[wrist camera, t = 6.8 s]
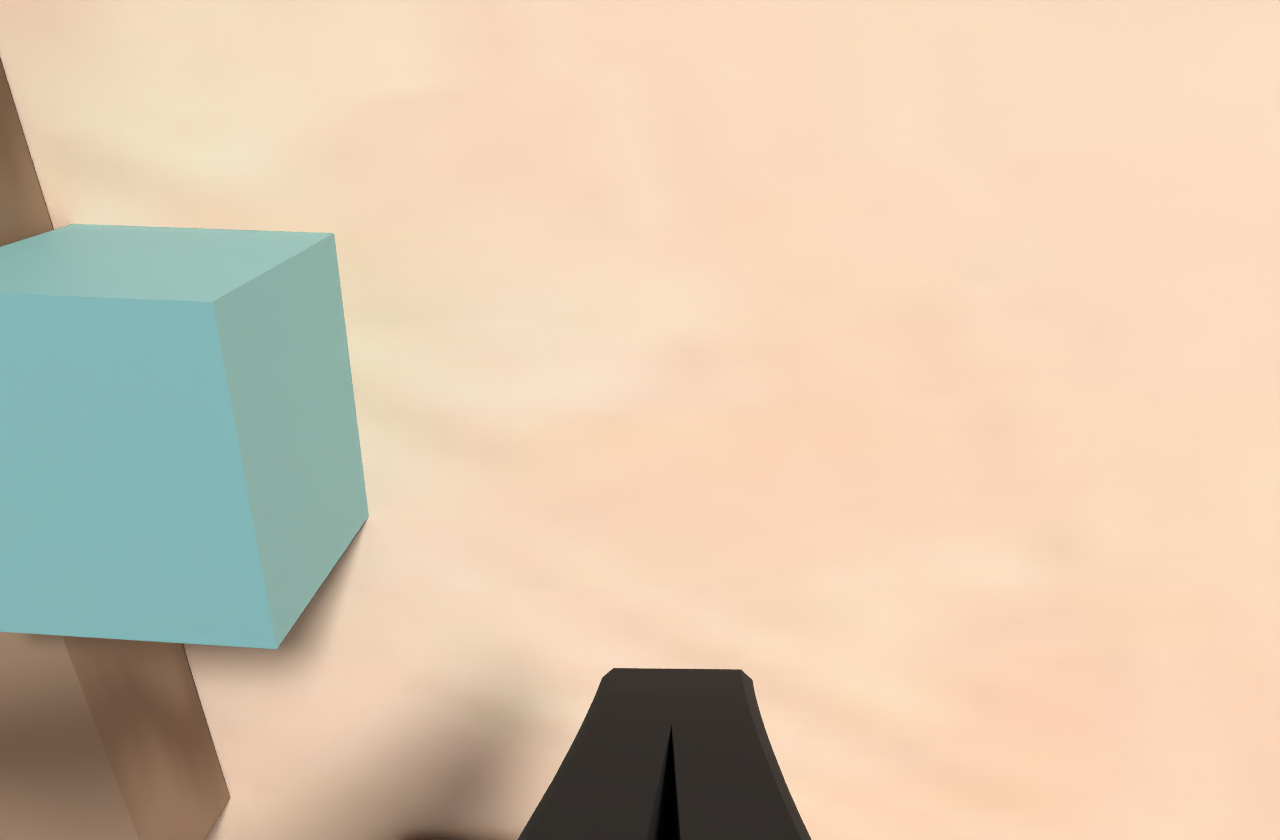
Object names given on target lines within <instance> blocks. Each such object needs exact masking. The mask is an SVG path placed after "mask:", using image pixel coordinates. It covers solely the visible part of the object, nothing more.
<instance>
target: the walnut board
mask: <svg viewBox="0 0 1280 840" xmlns="http://www.w3.org/2000/svg"><path fill="white" fill-rule="evenodd" d="M52 230H53V227H52V224H51V221H50V218H49V214H48V211H47V208H46V205H45V202H44V198H43V195H42V192H41V189H40V186H39V182H38V179H37V176H36V173H35V169H34V166H33V163H32V160H31V157H30V153H29V150H28V147H27V144H26V140H25V137H24V134H23V131H22V128H21V124H20V121H19V118H18V115H17V112H16V108H15V105H14V102H13V99H12V95H11V92H10V89H9V86H8V83H7V79H6V76H5V73H4V70H3V67H2V63H1V60H0V247H2V246H5V245H8V244H11V243H15V242H18V241H21V240H24V239H27V238H30V237H33V236H37V235H40V234H43V233H46V232H49V231H52ZM229 799H230V797H229V793H228V790H227V787H226V784H225V780H224V777H223V774H222V771H221V768H220V764H219V761H218V758H217V755H216V752H215V748H214V745H213V742H212V739H211V735H210V732H209V729H208V726H207V723H206V719H205V716H204V713H203V710H202V707H201V703H200V700H199V697H198V694H197V690H196V687H195V684H194V681H193V678H192V674H191V671H190V668H189V665H188V661H187V658H186V655H185V652H184V649H183V645H182V643H170V642H155V641H139V640H123V639H108V638H92V637H76V636H61V635H45V634H29V633H13V632H0V840H204V839H205V837H206V836H207V834H208V833H209V831H210V829H211V828H212V826H213V824H214V823H215V821H216V820H217V818H218V816H219V815H220V813H221V812H222V810H223V808H224V807H225V805H226V803H227V802H228V800H229Z"/></svg>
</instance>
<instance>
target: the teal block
mask: <svg viewBox="0 0 1280 840" xmlns="http://www.w3.org/2000/svg"><path fill="white" fill-rule="evenodd" d="M368 516H369V515H368V507H367V499H366V491H365V483H364V474H363V466H362V458H361V450H360V442H359V434H358V426H357V417H356V409H355V401H354V393H353V385H352V377H351V368H350V360H349V352H348V344H347V336H346V328H345V319H344V311H343V303H342V295H341V287H340V279H339V270H338V262H337V254H336V246H335V238H334V233H310V232H282V231H254V230H226V229H198V228H170V227H142V226H113V225H85V224H71V225H68V226H65V227H62V228H59V229H55V230H52V231H49V232H46V233H43V234H40V235H37V236H33V237H30V238H27V239H24V240H21V241H18V242H15V243H11V244H8V245H5V246H2V247H0V632H13V633H29V634H45V635H61V636H76V637H92V638H108V639H123V640H139V641H155V642H170V643H186V644H202V645H218V646H233V647H249V648H265V649H277V648H278V647H279V645H280V644H281V642H282V641H283V640H284V638H285V637H286V635H287V634H288V632H289V631H290V629H291V628H292V626H293V625H294V624H295V622H296V621H297V619H298V618H299V616H300V615H301V613H302V612H303V611H304V609H305V608H306V606H307V605H308V603H309V602H310V600H311V599H312V597H313V596H314V595H315V593H316V592H317V590H318V589H319V587H320V586H321V584H322V583H323V582H324V580H325V579H326V577H327V576H328V574H329V573H330V571H331V570H332V568H333V567H334V566H335V564H336V563H337V561H338V560H339V558H340V557H341V555H342V554H343V553H344V551H345V550H346V548H347V547H348V545H349V544H350V542H351V541H352V539H353V538H354V537H355V535H356V534H357V532H358V531H359V529H360V528H361V526H362V525H363V524H364V522H365V521H366V519H367V518H368Z"/></svg>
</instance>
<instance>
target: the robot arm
mask: <svg viewBox="0 0 1280 840" xmlns="http://www.w3.org/2000/svg"><path fill="white" fill-rule="evenodd" d="M518 840H811V838H810V836H809V834H808V831H807V829H806V827H805V825H804V823H803V821H802V819H801V817H800V815H799V813H798V810H797V808H796V806H795V803H794V801H793V799H792V797H791V794H790V792H789V790H788V787H787V785H786V783H785V780H784V778H783V775H782V772H781V770H780V767H779V765H778V762H777V760H776V757H775V755H774V752H773V750H772V747H771V744H770V741H769V739H768V736H767V733H766V730H765V727H764V724H763V721H762V718H761V715H760V711H759V707H758V704H757V700H756V696H755V692H754V687H753V681H752V679H751V678H750V677H748V676H747V675H746V674H745V673H744V672H743V671H742V670H732V669H639V668H613V669H612V670H611V671H610V672H608V673H607V674H606V675H605V676H604V677H603V678H602V680H601V682H600V685H599V687H598V690H597V692H596V695H595V697H594V700H593V702H592V704H591V706H590V708H589V710H588V713H587V715H586V717H585V719H584V721H583V723H582V725H581V727H580V729H579V731H578V733H577V735H576V737H575V739H574V741H573V743H572V745H571V747H570V749H569V751H568V753H567V755H566V756H565V758H564V760H563V762H562V764H561V766H560V768H559V769H558V771H557V773H556V775H555V777H554V779H553V781H552V782H551V784H550V786H549V787H548V789H547V791H546V793H545V794H544V796H543V798H542V799H541V801H540V803H539V804H538V806H537V808H536V809H535V811H534V813H533V815H532V816H531V818H530V820H529V821H528V823H527V825H526V826H525V828H524V830H523V832H522V833H521V835H520V837H519V838H518Z"/></svg>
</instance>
